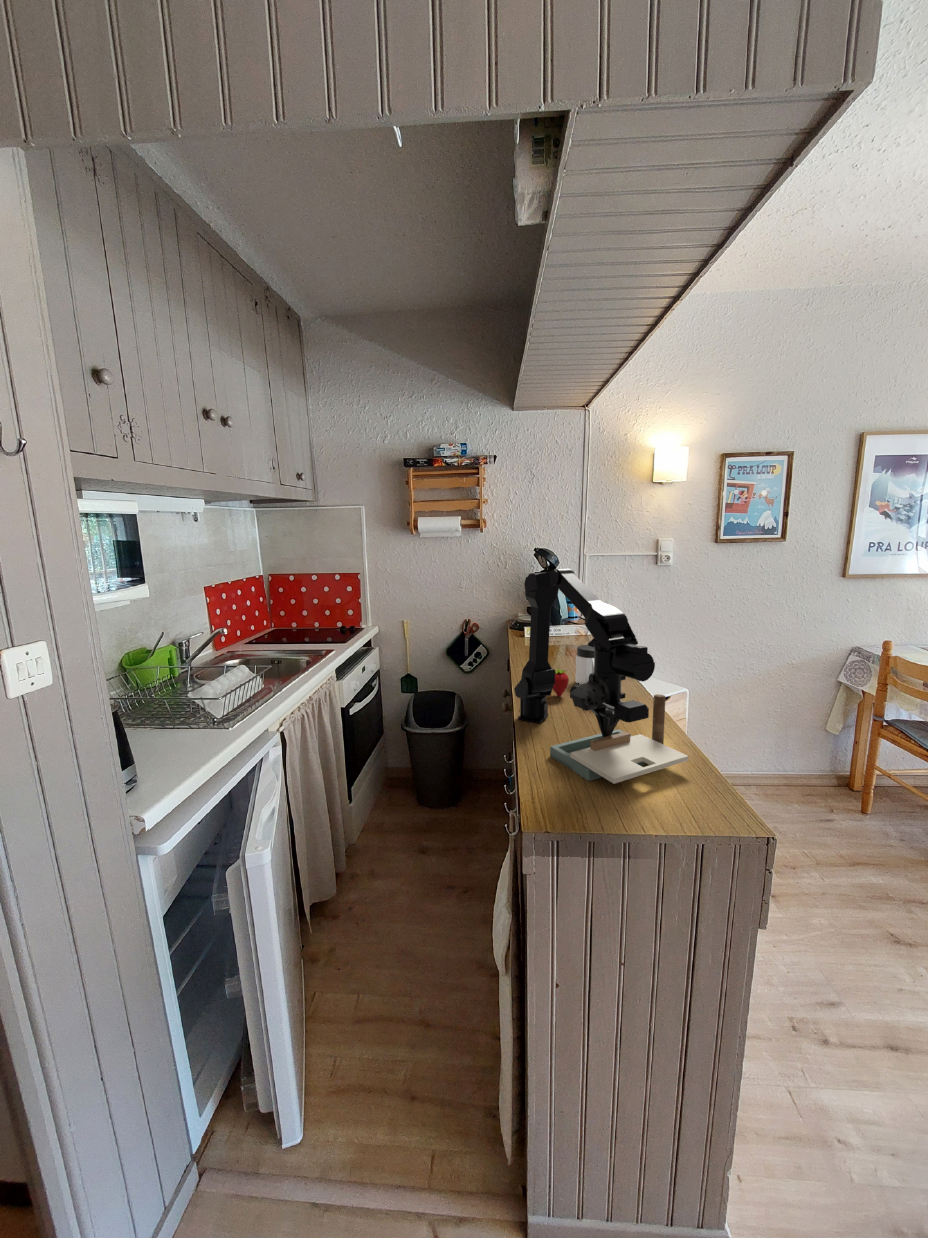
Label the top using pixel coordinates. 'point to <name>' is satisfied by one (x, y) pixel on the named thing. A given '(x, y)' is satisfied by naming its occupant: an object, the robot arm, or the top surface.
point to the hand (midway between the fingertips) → (606, 738)
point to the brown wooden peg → (658, 718)
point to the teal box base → (564, 749)
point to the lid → (626, 756)
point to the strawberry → (560, 682)
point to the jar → (584, 663)
